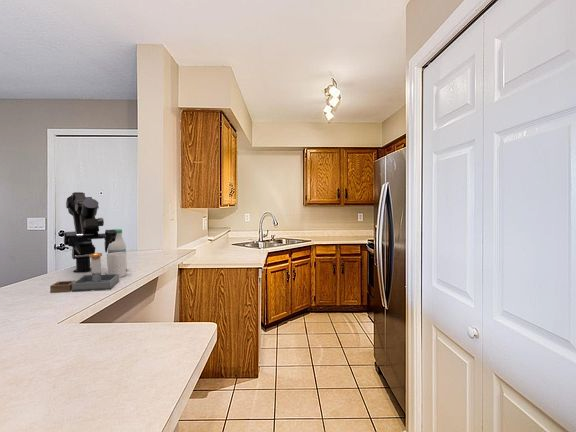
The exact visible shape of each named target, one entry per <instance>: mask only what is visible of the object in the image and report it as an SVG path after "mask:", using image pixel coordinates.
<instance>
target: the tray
mask: <svg viewBox="0 0 576 432" xmlns="http://www.w3.org/2000/svg"><path fill="white" fill-rule="evenodd" d="M74 281H75V282H74V283H72V291H71V292H72V293H74V292H89V291H90V292H91V290H95V291H106V290H105V289H110V290H112V288H114V286H116V285H117V284H118V282H120V277H119V274H101V282H92V274H90V275H89V274H87V275H86V274H85V275H82V276H80V278H78V279H77V280H74Z"/></svg>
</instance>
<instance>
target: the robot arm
mask: <svg viewBox="0 0 576 432" xmlns="http://www.w3.org/2000/svg"><path fill="white" fill-rule="evenodd" d="M71 193H72V194H71V195H70V196H68V197H67V198H66V201H65V208H66V209H67V210H68V214H70V215H71V216H72V218H73V224H74V231H66V232H64V233H63V244H64V246H68V247H71V249H72V250H71V259H73V260H75V268H76V269H74V270H73V273H81V272H84V273H85V272H91V271H92V267H91V257H89V254H93V253H96V247H95V244H93V241H92V240H102V239H104V252H105V253H106V254H108V246H109V244H110V243H112V242H114V241H115V239H116V235H117V233H116V230H114V228H113V230H112V229H105V231H104V232H103V233H99V232H100V227H103V226H104V225H105V224H104V217H98V218H96V216H97V213H98V209H99V202H98V200H96V199H95V198H93V197H92V196H86V193H85V192H80V191H79V192H77V191H76V192H71Z"/></svg>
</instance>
